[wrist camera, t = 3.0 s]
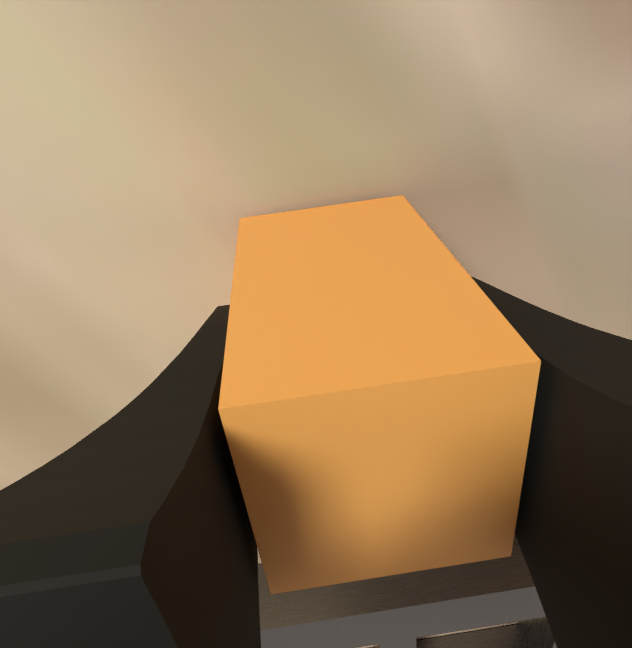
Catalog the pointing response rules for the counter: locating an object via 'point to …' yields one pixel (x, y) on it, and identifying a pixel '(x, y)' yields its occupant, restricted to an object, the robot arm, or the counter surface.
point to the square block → (370, 398)
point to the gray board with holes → (412, 609)
